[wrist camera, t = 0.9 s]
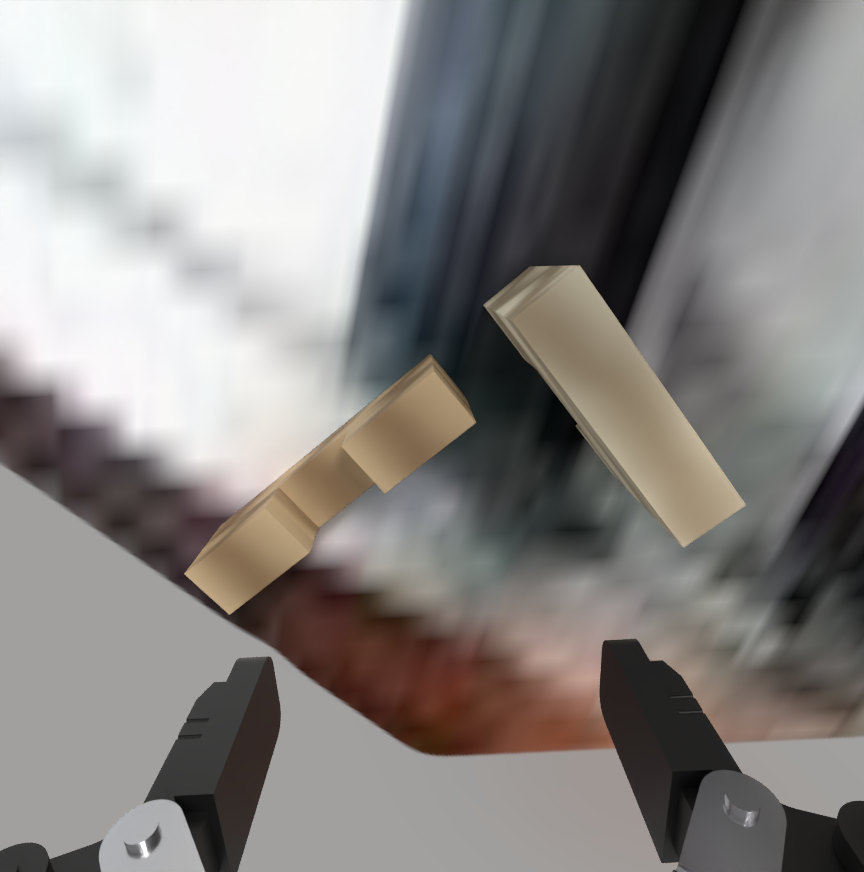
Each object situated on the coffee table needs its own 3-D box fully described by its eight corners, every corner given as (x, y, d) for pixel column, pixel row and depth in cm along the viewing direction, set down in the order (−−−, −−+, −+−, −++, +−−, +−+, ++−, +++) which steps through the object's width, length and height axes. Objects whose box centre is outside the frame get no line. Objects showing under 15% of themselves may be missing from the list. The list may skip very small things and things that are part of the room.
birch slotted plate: (530, 266, 32) (579, 265, 22) (656, 441, 35) (746, 505, 26) (482, 305, 32) (511, 320, 23) (611, 473, 36) (683, 547, 26)
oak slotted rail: (430, 353, 33) (433, 371, 27) (465, 396, 34) (476, 422, 28) (220, 525, 36) (184, 573, 30) (258, 561, 37) (229, 614, 31)
